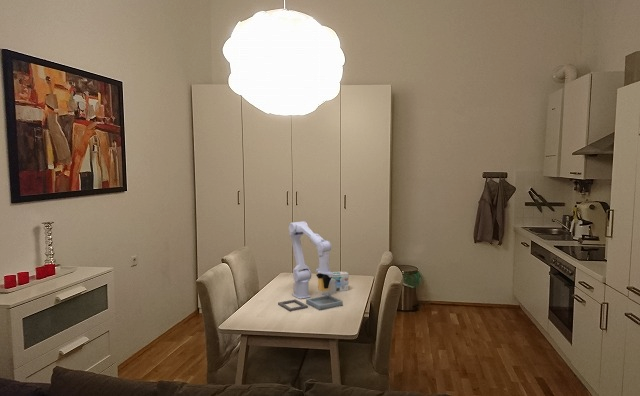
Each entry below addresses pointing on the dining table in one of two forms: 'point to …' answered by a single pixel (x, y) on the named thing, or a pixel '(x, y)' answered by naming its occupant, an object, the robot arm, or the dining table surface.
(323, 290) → the block
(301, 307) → the holder frame
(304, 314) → the dining table surface
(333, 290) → the medicine box
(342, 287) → the white printed carton
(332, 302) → the parts tray
